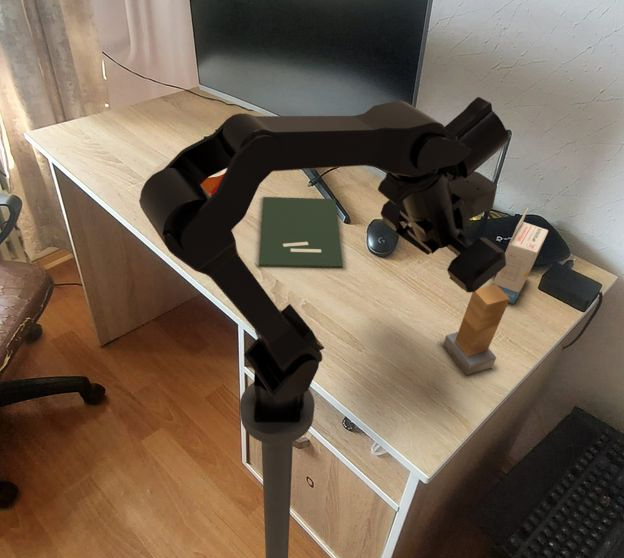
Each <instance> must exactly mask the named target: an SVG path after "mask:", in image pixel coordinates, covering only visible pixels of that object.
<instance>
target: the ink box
mask: <svg viewBox="0 0 624 558" xmlns="http://www.w3.org/2000/svg"><path fill="white" fill-rule="evenodd" d="M529 208H530V207H527V208H526V209H525V211H524V213H523V214H522V216H521V217H520V220H519V222H518V223H517V225H516V227H515V229H514V232H513V234H512V236H511V238H510V240H509V242H508V245H507V247H506V250H505V256H506V266H505V267H504V268H503V269H501V270H500V271H499V272H498V273H497V274H495V277H494V280H493V283H492V285H495V284H496V285H497V286H498V287H499V288H500V289H501V290H502V291H503V292H504V293H505V294H506V295H507V296H508V297H509V298H510V300H509V302H508V304H512V305H514V304H515V302H516V300H517V298H518V296H519V295H520V293H521V291H522V289H523V287H524V285H525V282H526V281H527V278H528V277H529V274H530V272H531V270H532V268H533V266H534V264H535V262H536V259H537V257H538V255H539V253H540V250H541V249H542V246H543V244H544V241H545V239H546V238H547V236H548V233H549V230H548V229H547V228H543V227H540V226H537V225H534V224H531V223H528V222H525V221H524V220H525V218H526V215H527V213H528V210H529Z"/></svg>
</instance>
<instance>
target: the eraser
mask: <svg viewBox="0 0 624 558" xmlns="http://www.w3.org/2000/svg"><path fill="white" fill-rule="evenodd" d="M509 300H510V298H509V297H508V296H507V295H506V294H505V293H504V292H503V291H502V290H501V289H500V288H499V287H498V286H497V285H496V284H495V285H493V284H491V285H487V286H481V287H480V288H479V289H477V290H476V291H475V292H471V296H470V299H469V301H468V304H467V307H466V309H465V311H464V315H463V318H462V321H461V323H460V326H459V329H458V331H456V332H453V333H448V334H446V336H445V339H444V341H443V344H442V346H443V348H444V349H445V351H446V352H447V353H448V354H449V355H450V357H451V358H452V359H453V361H454V362H455V363H456V365H457V366H458V367H459V368H460V370H461V371H462V373H463V374H464V375H465V376H469V375H473V374H476V373H480V372H481V371H485V370H490V369H492V368H493V366H494V364H495V362H496V359H497V356H496V355H495V354H494V352H492V350H491V349H490V346H491V343H492V341H493V339H494V336H495V334H496V332H497V330H498V327H499V325H500V323H501V321H502V318H503V316H504V313H505V311H506V309H507V306H508V304H509Z"/></svg>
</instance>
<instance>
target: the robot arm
mask: <svg viewBox="0 0 624 558" xmlns="http://www.w3.org/2000/svg"><path fill="white" fill-rule="evenodd" d="M509 136H510V135H509V130H508V129H506V126H505V125H504V123H503V121H502V120H501V118H500V117H499V116H498V114H496V113H495V111H494V110H493V105H492V102H489V101H488V100H486V99H484V98H482V97H480V96H477V97H476V98H474V99H473V100H472V101H471V102H470V103H469V104H468V105H467V107H466V108H465V109H463V110H462V111H461V112H460V113H459V114H458V115H457V116H456V117H454V118H453V119H452V120H451V121H449V122H448V123H447V124H446V125H444V124H442V123H441V122H439V121H437V120H436V119H434V118H433V117H431V116H429V114H426V113H424V112H423V111H422V110H419V109H418V108H417V107H415V106H413V105H411V103H408V102H406V101H403V100H395V101H390V102H384V103H380V104H376V105H373V106H372V107H369V109H368V110H367V111H365V112H363V113H360V114H356V115H265V116H264V115H261V116H260V115H253V114H250V113H246V112H245V113H243V112H239V113H235V114H232V115H230V117H228V118H226V120H225V121H224V122H223V123H221V124H220V126H219V127H218V128H217V129H216V130H215V131H214V132H213V133H211V134H209V135H208V136H206V137H204V138H201V139H200V140H198V141H196V142H194V143H192V144H191V145H190V144H189V146H186V147H185V148H183V149H182V150H181V151H180V152H178V153H177V154H176V156H174V157H173V158H172V161H171V162H170V163H169V164H168V165H167V166H166V167H165V168H164V169H163V170H161V171H159V172H157V173H155V174H153V175H152V176H151V177H150V178H149V179H148V180H147V179H146V181H145V182H144V184H143V187H142V189H141V190H140V196H139V199H138V203H139V206H140V209H141V210H142V212H143V214H144V215H145V217H146V218H147V219H148V221H149V223H150V224H151V226H152V227H153V229H154V231H156V233H157V235H158V237H159V238H160V239H161V241H162V242H163V244H164V245H165V247H166V249H167V250H168V252H169V253H170V254H171V255H173V256H174V257H176V258H177V260H179V261H181V262H182V263H183V264H185V265H186V266H187V267H189V268H190V269H192V270H193V271H195V272H197V273H201V274H203V275H205V276H207V277H209V278H210V279H211V280H212V282H214V283H215V285H216V286H217V287H218V288H219V289H220V291H221V292H222V293H223V294H224V295H225V297H226V298H227V299H228V300H229V301H230V302H231V304H233V306H234V307H235V308H236V309H237V311H239V313H240V314H241V315H242V316H243V318H245V320H246V322H248V323H249V324H250V326H251V327H252V328H253V329H254V333H255V335H256V340H255V341H254V342H253V343H252V344H251V345H250V347H249V348H248V349H247V350H246V352H244V354H243V356H244V357H245V359H246V361H247V362H248V364H249V365H250V366H251V368H252V369H253V372H254V377H253V382H254V397H255V404H254V421H255V422H299V421H300V409H303V408H304V393H305V392H307V391H308V389H309V390H310V387H311V385H312V382H313V380H314V378H315V376H316V375H317V372H318V370H319V367H320V363H321V362H322V361H323V354H322V351H323V350H324V349H325V346H324V345H323V344H322V343H321V342H320V340H319V339H318V338H317V336H316V335H315V334H314V333H315V332H314V331H313V329H311V327H310V326H309V325H308V324H307V323H306V321H305V320H304V319H303V318H302V317H301V315H300V314H299V313H298V312H297V310H296V309H295V308H294V306H292V304H291V303H289V304H287V306H286V307H284V308H283V309H282V310H281V309H279V308H278V307H277V305H276V304H275V302H274V301H273V300H272V298H271V297H270V295H269V294H268V293H267V292H266V291H265V290H266V289H264V287H262V285H261V284H260V282H259V281H258V280H257V278H256V276H255V275H254V274H253V273H252V271H251V270H250V269H249V267H248V265H246V263H245V262H244V261H243V259H242V258H241V256H240V255H239V252H238V247H237V241H236V237H235V235H234V233H233V229H234V228H235V227H236V226H237V225H238V224H239V223H240V222H241V221H242V220H243V219H244V218H245V217H246V215H247V213H248V211H249V208H250V206H251V204H252V202H253V200H254V197H255V195H256V194H257V190H258V189H259V187H260V184H262V182H263V181H264V180H265V179H266V178H268V176H269V175H270V174H271V173H273V172H288V171H289V172H290V171H303V170H304V171H305V170H318V169H333V168H350V167H365V166H366V167H371V168H375V169H378V170H381V171H384V172H386V174H385V177H383V178H384V179H382V180H381V181H380V182H379V185H378V187H377V191H378V192H379V193H380V194H381V195H383V197H385V199H387V201H386V202H385V203H383V205H382V207H381V211H380V215H381V216H380V217H381V219H382V220H383V222H384V223H385V224H386V225H388V226H389V227H390V229H392V230H393V231H394V232H395V233H396V234H398V235H399V236H400V238H403V240H405V241H407V242H408V243H409V244H411V245H413V246H414V247H415V248H417V249H418V250H419V251H421V252H422V253H424V254H425V255H427V256H428V255H430V254H432V255H433V254H434V253H435V252H437V251H438V250H439V249H444V248H446V249H448V250H449V251H450V252H452V253H453V254H454V255H456V257H454V258H453V259H452V260H451V261H450V263H449V265H448V267H447V269H446V270H447V273H448V276H449V279H450V280H451V281H452V282H453V283H454V284H456V285H457V286H458V287H459V288H460V289H462V290H463V291H465V292H466V293H468V294H470V293H471V294H472V293H473V292H475V291H476V290H477V289H479V288H482V287H483V286H484V285H485V284H486V283H487V282H489V280H491V279H492V278H493V277H495V276H496V275H497V273H498V272H499V271H500V270H501V269H503V268H504V267H505V266H506V256H505V253H506V251H504V250H503V249H502V248H500V247H499V246H497V244H495V243H494V242H492V241H491V240H489V238H487V237H479V238H477V239H476V240H475V241H474V242H473V241H472V240H470V239H469V238H468V237H466V236H465V235H463V234H462V233H461V232H460V231H462V232H465V231H466V230H468V229H469V228H470V227H471V226H472V222H471V219H473V218H476V217H477V216H480V215H481V214H483V213H485V212H490V211H491V210H492V209H493V208H494V204H495V199H496V194H497V189H498V185H497V183H495V182H494V181H492V180H491V179H490V178H488V177H486V176H485V175H483V174H482V173H480V172H479V171H476V170H477V169H479V168H480V167H481V166H482V165H484V163H486V162H487V161H488V160H490V159H491V158H492V157H493V156H494V155H495V154H496V153H498V152H499V151H500V150H501V149H502V148H504V147H505V146H506V145H507V144H508V142H509ZM226 168H227V170H226V172H225V174H224V176H223V178H222V180H221V183H220V185H219V187H218V189H217V191H216V192H215V193H214V194H213V195H212V196H211V197H210V196H209V194H208V193H207V192H206V191H205V190H204V188H203V187H202V186H201V184H202V183H203V182H204V181H205V180H206V179H207V178H208V177H210V176H212V175H214V174H216V173H218V172H220V171H222V170H224V169H226ZM256 418H259V419H256ZM295 418H298V419H295Z"/></svg>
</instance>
